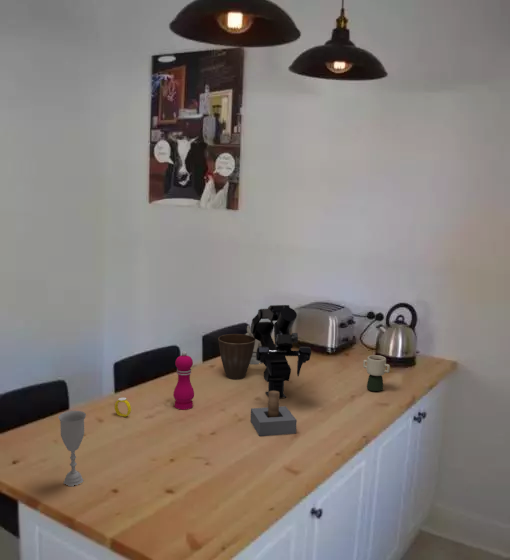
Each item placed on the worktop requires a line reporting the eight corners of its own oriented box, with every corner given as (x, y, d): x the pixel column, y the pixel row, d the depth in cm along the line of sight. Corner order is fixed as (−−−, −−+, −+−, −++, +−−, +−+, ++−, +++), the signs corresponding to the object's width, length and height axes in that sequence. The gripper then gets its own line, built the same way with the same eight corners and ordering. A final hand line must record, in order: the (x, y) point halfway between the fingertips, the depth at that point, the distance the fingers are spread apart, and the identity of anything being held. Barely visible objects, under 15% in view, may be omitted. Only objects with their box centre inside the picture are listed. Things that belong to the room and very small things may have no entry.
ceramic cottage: (236, 363, 265) (239, 329, 263) (242, 354, 281) (245, 322, 279) (272, 367, 263) (275, 334, 261) (275, 358, 279) (279, 326, 277)
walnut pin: (269, 422, 199) (270, 390, 198) (279, 423, 198) (280, 391, 197) (266, 426, 196) (267, 393, 194) (276, 427, 195) (277, 395, 193)
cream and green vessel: (391, 390, 236) (393, 358, 234) (384, 395, 230) (386, 362, 228) (365, 384, 242) (367, 353, 240) (358, 389, 236) (359, 357, 234)
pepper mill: (190, 411, 209) (191, 355, 206) (170, 409, 210) (170, 353, 207) (196, 403, 216) (197, 349, 213) (177, 401, 217) (177, 347, 214)
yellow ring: (132, 416, 203) (132, 399, 202) (127, 419, 201) (127, 401, 200) (118, 412, 206) (118, 395, 205) (113, 415, 203) (112, 398, 202)
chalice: (63, 475, 162) (61, 410, 159) (89, 474, 163) (88, 410, 160) (56, 488, 155) (55, 421, 152) (84, 488, 155) (83, 421, 152)
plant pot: (261, 375, 249) (262, 337, 247) (240, 385, 237) (242, 345, 234) (231, 368, 257) (232, 332, 254) (210, 377, 245) (210, 339, 242)
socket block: (250, 421, 202) (250, 408, 201) (285, 418, 205) (285, 406, 204) (259, 436, 190) (259, 422, 190) (296, 433, 193) (296, 419, 192)
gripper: (257, 323, 209) (259, 364, 200) (311, 324, 210) (315, 364, 201) (255, 340, 218) (256, 379, 209) (307, 340, 219) (310, 379, 210)
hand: (284, 375), depth 207 cm, fingers open, 9 cm apart
